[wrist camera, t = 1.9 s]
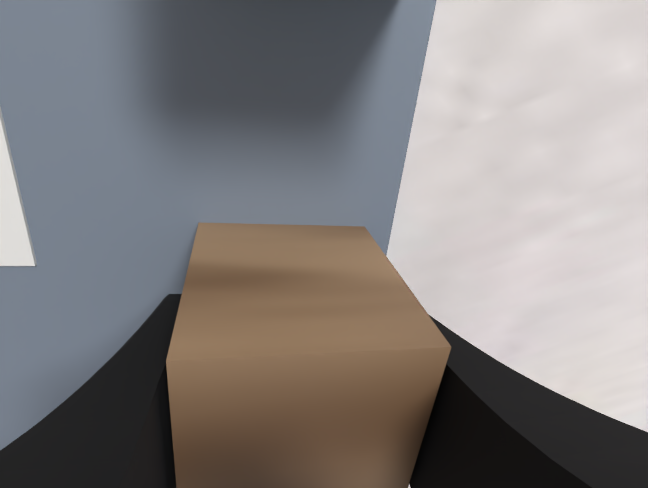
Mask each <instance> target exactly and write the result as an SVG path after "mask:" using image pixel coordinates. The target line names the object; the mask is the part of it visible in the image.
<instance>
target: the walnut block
mask: <svg viewBox="0 0 648 488" xmlns="http://www.w3.org/2000/svg"><path fill="white" fill-rule="evenodd" d="M450 350H451V346H450V344H449V343H448V341H447V340H446V339H445V337H444V336H443V334H442V333H441V332H440V330H439V329H438V328H437V326H436V325H435V323H434V322H433V321H432V319H431V318H430V316H429V315H428V314H427V312H426V311H425V310H424V308H423V307H422V305H421V304H420V303H419V301H418V300H417V298H416V297H415V296H414V294H413V293H412V291H411V290H410V289H409V287H408V286H407V285H406V283H405V282H404V280H403V279H402V278H401V276H400V275H399V273H398V272H397V271H396V269H395V268H394V266H393V265H392V264H391V262H390V261H389V260H388V258H387V257H386V255H385V254H384V253H383V251H382V250H381V248H380V247H379V246H378V244H377V243H376V241H375V240H374V239H373V237H372V236H371V235H370V233H369V232H368V230H367V229H366V228H365V226H325V225H283V224H241V223H200V222H199V223H198V227H197V232H196V236H195V240H194V244H193V249H192V253H191V257H190V261H189V266H188V270H187V274H186V278H185V283H184V287H183V291H182V295H181V300H180V304H179V308H178V312H177V317H176V321H175V325H174V329H173V334H172V338H171V342H170V346H169V351H168V355H167V359H166V367H167V379H168V391H169V403H170V415H171V427H172V439H173V451H174V463H175V475H176V487H177V488H408V485H409V482H410V478H411V475H412V472H413V469H414V466H415V462H416V459H417V456H418V453H419V450H420V446H421V443H422V440H423V437H424V434H425V430H426V427H427V424H428V421H429V417H430V414H431V411H432V408H433V405H434V401H435V398H436V395H437V392H438V389H439V385H440V382H441V379H442V376H443V373H444V369H445V366H446V363H447V360H448V356H449V353H450Z"/></svg>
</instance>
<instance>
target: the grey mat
mask: <svg viewBox="0 0 648 488" xmlns="http://www.w3.org/2000/svg"><path fill="white" fill-rule="evenodd" d="M435 5H436V0H0V450H2V449H3V448H5V447H6V446H7V445H9V444H10V443H11V442H13V441H14V440H16V439H17V438H18V437H20V436H21V435H22V434H24V433H25V432H27V431H28V430H29V429H30V428H32V427H33V426H34V425H36V424H37V423H38V422H40V421H41V420H42V419H43V418H44V417H46V416H47V415H48V414H49V413H51V412H52V411H53V410H54V409H55V408H57V407H58V406H59V405H60V404H61V403H63V402H64V401H65V400H66V399H67V398H68V397H70V396H71V395H72V394H73V393H74V392H75V391H76V390H78V389H79V388H80V387H81V386H82V385H83V384H84V383H85V382H86V381H87V380H89V379H90V378H91V377H92V376H93V375H94V374H95V373H96V372H97V371H98V370H99V369H100V368H101V367H102V366H103V365H104V364H105V363H106V362H107V361H108V360H109V359H110V358H111V357H112V356H113V355H114V354H115V353H116V352H117V351H118V350H119V349H120V348H121V347H122V346H123V345H124V344H125V343H126V342H127V341H128V339H129V338H130V337H131V336H132V335H133V334H134V333H135V332H136V331H137V330H138V329H139V328H140V326H141V325H142V324H143V323H144V322H145V321H146V319H147V318H148V317H149V316H150V315H151V314H152V312H153V311H154V310H155V309H156V308H157V306H158V305H159V304H160V303H161V301H162V300H163V299H164V298H165V297H166V296H167V295H168V294H182V291H183V287H184V283H185V278H186V274H187V270H188V266H189V261H190V257H191V253H192V249H193V244H194V240H195V236H196V232H197V227H198V223H199V222H200V223H241V224H283V225H325V226H365V228H366V229H367V230H368V232H369V233H370V235H371V236H372V237H373V239H374V240H375V241H376V243H377V244H378V246H379V247H380V248H381V250H382V251H383V253H384V254H385V255H386V254H387V249H388V244H389V238H390V233H391V228H392V223H393V218H394V213H395V208H396V203H397V198H398V193H399V188H400V183H401V177H402V172H403V167H404V162H405V157H406V152H407V147H408V142H409V137H410V132H411V127H412V122H413V116H414V111H415V106H416V101H417V96H418V91H419V86H420V81H421V76H422V71H423V66H424V61H425V55H426V50H427V45H428V40H429V35H430V30H431V25H432V20H433V15H434V10H435Z"/></svg>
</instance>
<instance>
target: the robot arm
mask: <svg viewBox="0 0 648 488" xmlns="http://www.w3.org/2000/svg"><path fill="white" fill-rule="evenodd" d="M181 295H182V294H168V295H167V296H166V297H165V298H164V299H163V300H162V301H161V303H160V304H159V305H158V306H157V308H156V309H155V310H154V311H153V312H152V314H151V315H150V316H149V317H148V318H147V319H146V321H145V322H144V323H143V324H142V325H141V326H140V328H139V329H138V330H137V331H136V332H135V333H134V334H133V335H132V336H131V337H130V338H129V339H128V341H127V342H126V343H125V344H124V345H123V346H122V347H121V348H120V349H119V350H118V351H117V352H116V353H115V354H114V355H113V356H112V357H111V358H110V359H109V360H108V361H107V362H106V363H105V364H104V365H103V366H102V367H101V368H100V369H99V370H98V371H97V372H96V373H95V374H94V375H93V376H92V377H91V378H90V379H89V380H87V381H86V382H85V383H84V384H83V385H82V386H81V387H80V388H79V389H78V390H76V391H75V392H74V393H73V394H72V395H71V396H70V397H68V398H67V399H66V400H65V401H64V402H63V403H61V404H60V405H59V406H58V407H57V408H55V409H54V410H53V411H52V412H51V413H49V414H48V415H47V416H46V417H44V418H43V419H42V420H41V421H40V422H38V423H37V424H36V425H34V426H33V427H32V428H30V429H29V430H28V431H27V432H25V433H24V434H22V435H21V436H20V437H18V438H17V439H16V440H14V441H13V442H11V443H10V444H9V445H7V446H6V447H5V448H3V449H2V450H0V488H176V475H175V463H174V451H173V439H172V427H171V415H170V403H169V391H168V379H167V367H166V359H167V355H168V351H169V346H170V342H171V338H172V334H173V329H174V325H175V321H176V317H177V312H178V308H179V304H180V300H181ZM429 316H430V315H429ZM430 318H431V319H432V321H433V322H434V323H435V325H436V326H437V328H438V329H439V330H440V332H441V333H442V334H443V336H444V337H445V339H446V340H447V341H448V343H449V344H450V346H451V350H450V353H449V356H448V360H447V363H446V366H445V369H444V373H443V376H442V379H441V382H440V385H439V389H438V392H437V395H436V398H435V401H434V405H433V408H432V411H431V414H430V417H429V421H428V424H427V427H426V430H425V434H424V437H423V440H422V443H421V446H420V450H419V453H418V456H417V459H416V462H415V466H414V469H413V472H412V475H411V478H410V482H409V484H410V487H411V488H648V432H645V431H643V430H640V429H638V428H635V427H633V426H630V425H628V424H625V423H623V422H620V421H618V420H615V419H613V418H611V417H608V416H606V415H604V414H601V413H599V412H597V411H594V410H592V409H590V408H588V407H586V406H584V405H581V404H579V403H577V402H575V401H573V400H571V399H569V398H566V397H564V396H562V395H560V394H558V393H556V392H554V391H552V390H550V389H548V388H546V387H544V386H542V385H540V384H538V383H536V382H534V381H533V380H531V379H529V378H527V377H525V376H523V375H522V374H520V373H518V372H516V371H514V370H512V369H511V368H509V367H507V366H505V365H504V364H502V363H500V362H499V361H497V360H495V359H494V358H492V357H491V356H489V355H487V354H486V353H484V352H483V351H481V350H479V349H478V348H476V347H475V346H473V345H472V344H470V343H469V342H467V341H466V340H464V339H463V338H461V337H460V336H458V335H457V334H455V333H454V332H452V331H451V330H450V329H448V328H447V327H445V326H444V325H442V324H441V323H440V322H438V321H437V320H435V319H434V318H433V317H431V316H430Z"/></svg>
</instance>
